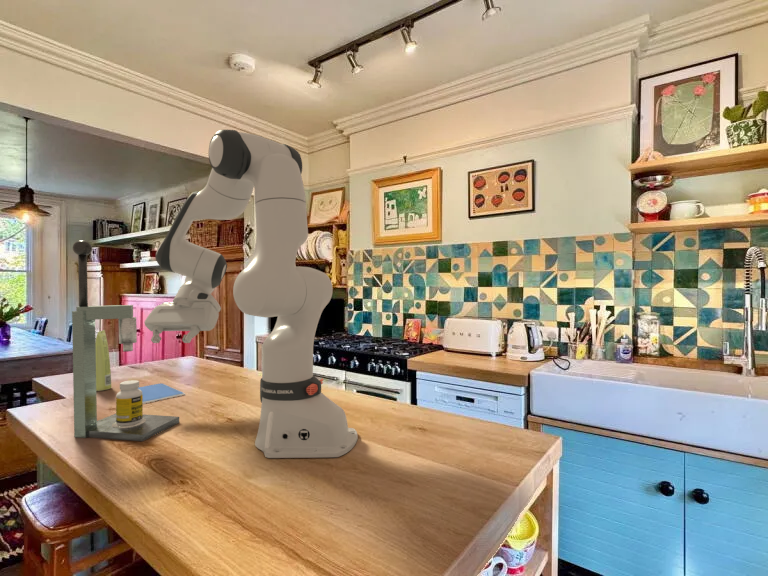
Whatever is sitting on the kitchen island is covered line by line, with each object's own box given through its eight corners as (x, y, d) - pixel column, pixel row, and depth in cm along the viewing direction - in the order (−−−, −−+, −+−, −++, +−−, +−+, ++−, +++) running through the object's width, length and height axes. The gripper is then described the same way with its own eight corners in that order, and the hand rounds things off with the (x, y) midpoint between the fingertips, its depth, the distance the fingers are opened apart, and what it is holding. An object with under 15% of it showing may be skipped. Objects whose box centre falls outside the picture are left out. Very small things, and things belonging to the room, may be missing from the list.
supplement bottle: (133, 426, 94) (132, 385, 94) (110, 426, 94) (110, 385, 94) (147, 418, 99) (147, 379, 99) (126, 418, 99) (125, 379, 99)
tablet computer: (186, 396, 125) (186, 392, 125) (142, 406, 116) (141, 402, 116) (162, 386, 138) (162, 382, 138) (120, 394, 129) (120, 390, 129)
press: (179, 422, 101) (176, 243, 100) (139, 442, 88) (136, 237, 87) (117, 418, 104) (114, 244, 103) (71, 437, 91) (67, 239, 91)
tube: (89, 390, 132) (87, 331, 131) (105, 386, 136) (104, 329, 136) (98, 392, 129) (97, 332, 129) (115, 388, 134) (114, 330, 133)
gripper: (153, 296, 117) (129, 335, 108) (216, 294, 114) (197, 335, 105) (164, 309, 122) (143, 348, 113) (226, 308, 118) (209, 348, 109)
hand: (170, 341), depth 109 cm, fingers open, 8 cm apart
